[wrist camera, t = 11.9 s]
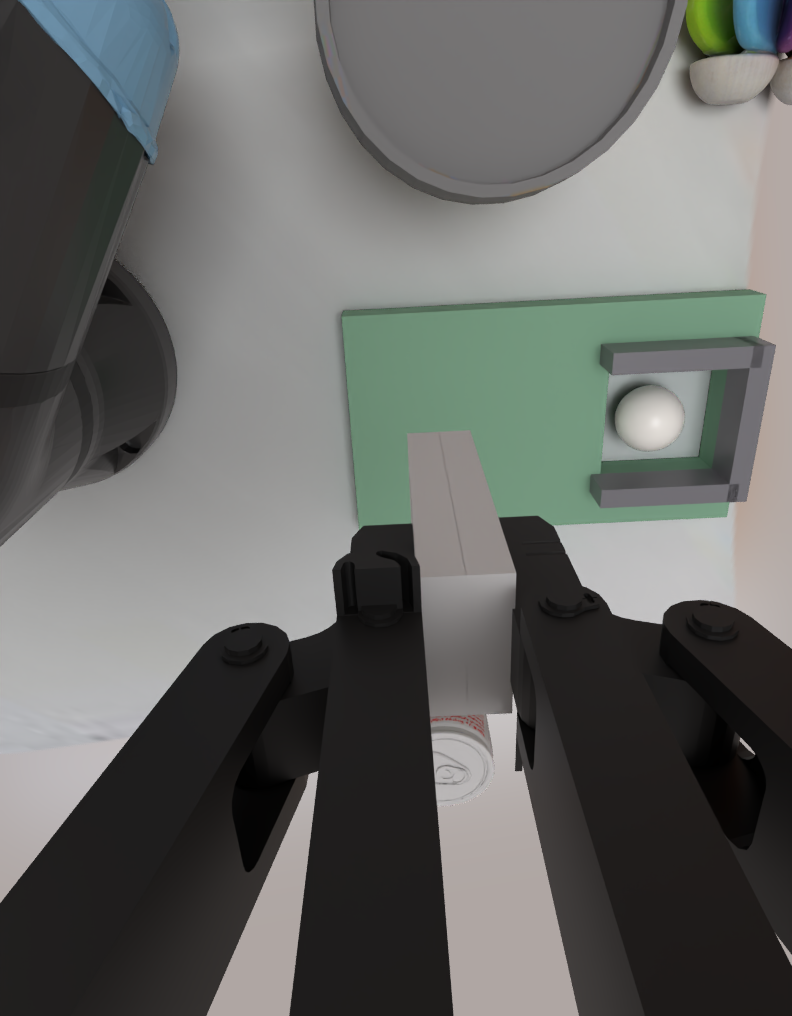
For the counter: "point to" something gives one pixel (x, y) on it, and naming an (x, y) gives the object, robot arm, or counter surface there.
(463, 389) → the green mat
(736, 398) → the grey u-shaped bracket
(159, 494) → the counter surface
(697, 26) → the rainbow toy vehicle
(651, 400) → the ball
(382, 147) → the reusable coffee cup
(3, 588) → the counter surface
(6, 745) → the counter surface
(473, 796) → the beverage can
